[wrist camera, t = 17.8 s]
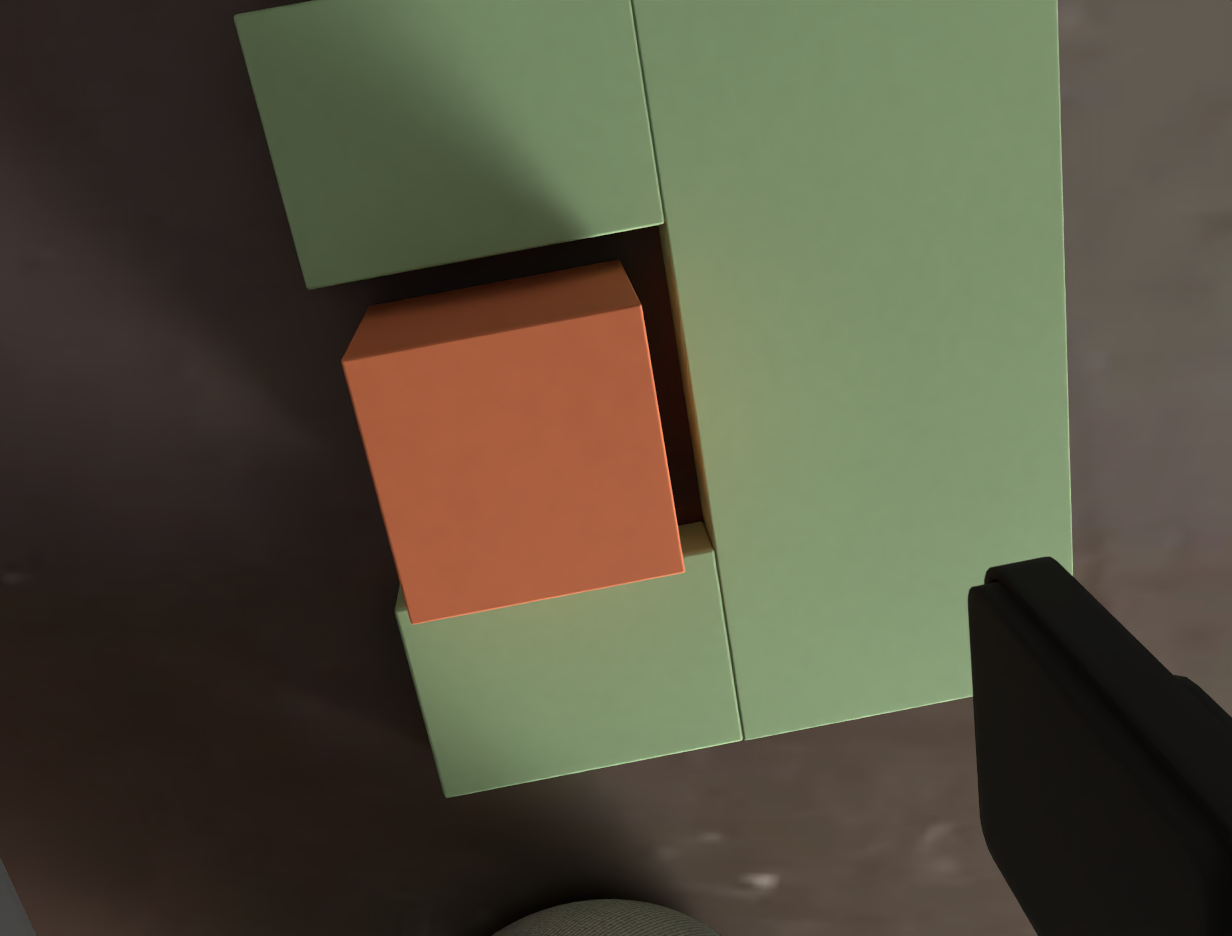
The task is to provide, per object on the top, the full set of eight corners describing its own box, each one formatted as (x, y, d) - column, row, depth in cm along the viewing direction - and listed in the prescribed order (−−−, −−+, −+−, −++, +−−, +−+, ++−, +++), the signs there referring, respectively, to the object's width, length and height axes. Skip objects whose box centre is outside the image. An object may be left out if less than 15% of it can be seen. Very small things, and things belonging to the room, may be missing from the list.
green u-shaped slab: (250, 15, 21) (231, 14, 19) (1018, -123, 21) (1054, -134, 19) (447, 759, 26) (445, 800, 25) (1046, 642, 27) (1076, 676, 25)
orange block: (367, 305, 23) (340, 359, 19) (620, 258, 23) (641, 303, 19) (426, 535, 24) (410, 626, 21) (658, 490, 24) (685, 573, 21)
